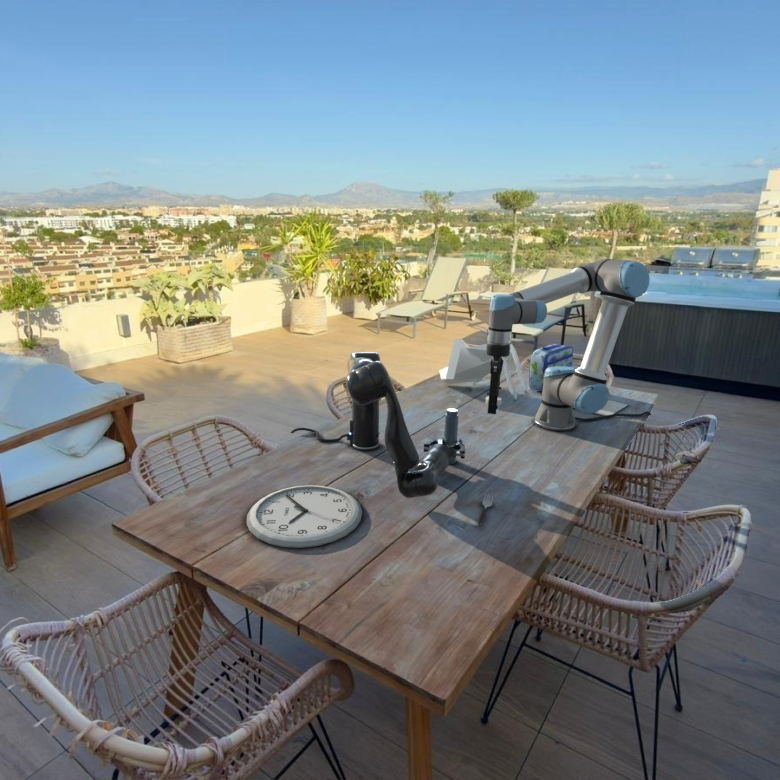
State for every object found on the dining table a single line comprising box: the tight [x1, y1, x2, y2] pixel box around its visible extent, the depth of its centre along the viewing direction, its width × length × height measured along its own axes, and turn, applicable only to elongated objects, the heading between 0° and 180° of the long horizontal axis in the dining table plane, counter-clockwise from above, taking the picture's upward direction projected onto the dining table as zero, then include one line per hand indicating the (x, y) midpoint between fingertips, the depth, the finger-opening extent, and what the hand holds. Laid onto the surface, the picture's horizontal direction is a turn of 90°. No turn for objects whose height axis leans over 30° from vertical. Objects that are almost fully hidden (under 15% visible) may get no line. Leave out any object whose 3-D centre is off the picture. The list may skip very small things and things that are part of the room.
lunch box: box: [528, 343, 574, 392], centre depth 248 cm, size 26×11×21 cm, turn 134°
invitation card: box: [595, 399, 629, 416], centre depth 226 cm, size 21×1×15 cm
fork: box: [477, 491, 494, 527], centre depth 140 cm, size 3×16×2 cm, turn 160°
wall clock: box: [246, 484, 363, 549], centre depth 137 cm, size 30×2×30 cm
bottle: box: [443, 407, 460, 465], centre depth 168 cm, size 4×4×18 cm
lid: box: [485, 395, 502, 406], centre depth 175 cm, size 5×5×2 cm
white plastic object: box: [438, 338, 531, 400], centre depth 245 cm, size 37×45×31 cm
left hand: (452, 440), depth 171 cm, fingers closed on bottle, 4 cm apart
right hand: (492, 410), depth 176 cm, fingers closed on lid, 5 cm apart
